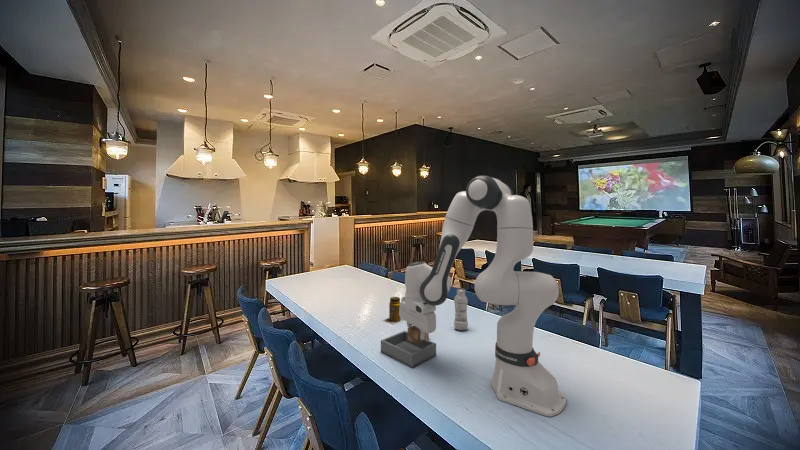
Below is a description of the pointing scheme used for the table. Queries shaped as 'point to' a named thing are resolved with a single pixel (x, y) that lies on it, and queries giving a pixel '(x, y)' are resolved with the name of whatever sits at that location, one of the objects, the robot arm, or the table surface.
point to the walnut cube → (414, 335)
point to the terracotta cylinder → (427, 336)
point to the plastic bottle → (460, 310)
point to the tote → (407, 349)
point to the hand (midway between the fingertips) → (416, 335)
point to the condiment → (394, 311)
